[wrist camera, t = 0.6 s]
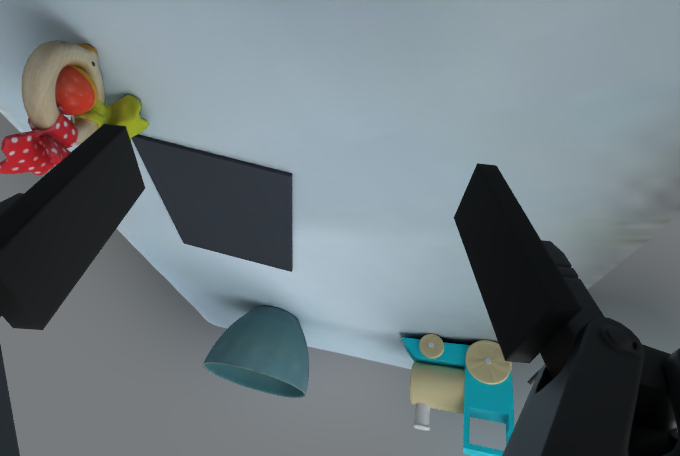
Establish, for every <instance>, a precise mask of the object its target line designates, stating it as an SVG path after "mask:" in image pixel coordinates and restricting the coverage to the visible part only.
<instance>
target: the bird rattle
mask: <svg viewBox="0 0 680 456" xmlns="http://www.w3.org/2000/svg"><path fill="white" fill-rule="evenodd" d="M22 97H23V103H24V107H25V110H26V112H27V115H28V117H29V118H28V123H29V125H30V127H31V129H32V130H33V131H30V132H24V133H19V134H14V135H9V136H6V137H5V138H4V139H3V142H2V144H1V150H2V151H3V153H4V154H5V155H6V156H7V159H5V160H4V161H2V162H0V173H2V174H16V173H23V172H32V173H34V174H36V175H42V174H45V173H47V172H48V171H49V170H50V169H52V168H53V167H54V165H57V164H59V163H60V162H61V161H62V160H63V159H64V158H65V157H67V156H68V155H69V154H70V153H71V152H70V151H68V150H67V149H66V148H69V147H72V146H73V145H78V144H81V143H82V142H84V141H85V140H86V139H87V138H88V137H89V136H90V135H92V134H93V133H94V132H95V131H96V130H97V129H98V128H100V127H101V126H102V125H103V124H111V125H121V126H126V128H127V131H128V135H129V138H130V141H131V138H132V137H134V136H136V135H137V134H139V133H141V132H143V131H144V130H145V129H146V128H147V127H148V125H149V123H148V121H147V120H145V119H144V118H140V116H139V112H140V110H141V107H142V104H141V101H140V100H139V99H137V98H136V97H134V96H131V95H126V96H124V97H122V98H121V99H119V100H118V101H116V102H115V103H113V104H111V105H105V92H104V84H103V79H102V75H101V72H100V69H99V66H98V57H97V52H96V50H95V49H94V48H93V47H91V46H89V45H85V44H78V45H76V44H73V43H69V42H65V41H49V42H46V43H43V44H41V45H40V46H38V47H37V48H36V49H35V50H34V51H33V52H32V53H31V55H30V56H29V58H28V60H27V62H26V64H25V66H24V71H23V76H22ZM63 114H65V115H71V120H70V121H69V119H68V118H67V117H65V116H64V115H63Z"/></svg>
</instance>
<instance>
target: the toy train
mask: <svg viewBox="0 0 680 456" xmlns="http://www.w3.org/2000/svg"><path fill="white" fill-rule="evenodd" d="M401 339H402V341H403V343H404V346H405V348H406V350H407V352H408V353H409V355H410V356H411V358H412V359H413V360H414V363H413V366H412V370H411V376H410V401H411V403H412V404H413V405H416V411H415V421H414V424H413V427H414V428H416V429H420V430H424V431H428V430H430V428H429V416H430V408H435V409H440V410H445V411H450V412H456V413H461V414H464V426H463V450H464V454H467V455H472V456H502V455H503V453H504V451H501V450H496V449H492V448H487V447H482V446H478V445H473V444H469V421H470V420H469V418H470V417H473V418H479V419H484V420H489V421H494V422H500V423H505V424H506V442H507V444H508V441H509V439H510V437H511V435H512V432H513V430H514V410H513V388H512V362H508V361H505V359H504V357H503V354H502V351H501V348H500V345H499V344H498V343H496V342H493V341H490V340H481V341H477V342H475V343H473V344H472V345H471V346H470V345H462V344H454V343H445V342H443V341H442V339H441V338H440V337H439V336H437V335H435V334H427V335H425V336H423V337H422V339H421V340H420V339H412V338H404V337H401Z"/></svg>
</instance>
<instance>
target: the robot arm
mask: <svg viewBox="0 0 680 456" xmlns="http://www.w3.org/2000/svg"><path fill="white" fill-rule="evenodd" d="M144 189H145V186H144V183H143V180H142V176H141V173H140V170H139V167H138V163H137V160H136V157H135V154H134V151H133V147H132V144H131V141H130V138H129V135H128V131H127V128H126V126H121V125H111V124H103V125H102V126H101V127H100V128H98V129H97V130H96V131H95V132H94V133H93V134H92V135H90V136H89V137H88V138H87V139H86V140H85V141H84V142H82V143H81V144H80V145H79V146H78V147H77V148H76V149H75V150H73V151H72V152H71V153H70V154H69V155H68V156H67V157H65V158H64V159H63V160H62V161H61V162H60V163H59V164H57V165H56V166H55V167H54V168H53V169H52V170H51V171H50V172H48V173H47V174H46V175H45V176H44V177H43V178H42V179H40V180H39V181H38V182H37V183H36V184H35V185H34V186H33V187H31V188H30V189H29V190H28V191H27V192H26V193H25V194H22V193H18V194H16V195H14V196H12V197H10V198H8V199H6V200H4V201H2V202H0V317H1V316H3V317H4V318H5V319H6V321H7V322H8V323H9V324H10V325H11V326H12V327H13V328H21V329H22V328H23V329H36V330H43V329H44V328H45V326H46V325H47V323H48V322H49V320H50V319H51V318H52V316H53V315H54V314H55V312H56V311H57V310H58V308H59V306H60V305H61V304H62V303H63V301H64V300H65V299H66V297H67V296H68V294H69V293H70V292H71V290H72V289H73V287H74V286H75V285H76V283H77V282H78V281H79V279H80V278H81V276H82V275H83V274H84V272H85V271H86V269H87V268H88V267H89V265H90V264H91V263H92V261H93V260H94V258H95V257H96V256H97V254H98V253H99V251H100V250H101V249H102V247H103V246H104V245H105V243H106V242H107V240H108V239H109V238H110V236H111V235H112V233H113V232H114V231H115V229H116V228H117V227H118V225H119V224H120V222H121V221H122V220H123V218H124V217H125V215H126V214H127V213H128V211H129V210H130V209H131V207H132V206H133V204H134V203H135V202H136V200H137V199H138V197H139V196H140V195H141V193H142V192H143V191H144ZM454 219H455V222H456V225H457V228H458V230H459V233H460V236H461V239H462V242H463V244H464V247H465V250H466V253H467V256H468V258H469V261H470V264H471V267H472V270H473V272H474V275H475V278H476V281H477V284H478V286H479V289H480V292H481V295H482V298H483V301H484V303H485V306H486V309H487V312H488V315H489V317H490V320H491V323H492V326H493V329H494V331H495V334H496V337H497V340H498V343H499V345H500V348H501V351H502V354H503V357H504V359H505V361H508V362H523V363H530V362H531V361H532V360H533V359H534V358H535V357H536V356H537V355H538V354H539V353H541V356H542V358H543V360H544V363H545V365H544V366H543V367H542V368H541V369H540V370H539V371H538V372H537V373H536V374H534V376H533V377H531V378H530V380H529V381H528V383H529V384H532V383H533V382H534V381H535V382H534V384H533V386H532V389H531V391H530V393H529V396H528V398H527V400H526V402H525V405H524V407H523V409H522V412H521V414H520V416H519V419H518V421H517V423H516V426H515V428H514V430H513V432H512V435H511V437H510V439H509V441H508V444H507V446H506V448H505V451H504V453H503V455H502V456H680V349H678V350H676V351H675V352H674V353H672V354H668V353H665V352H663V351H659V350H656V349H654V348H651V347H648V346H645V345H642V344H641V343H640V340H639V339H638V338H637V337H636V336H635V335H634V334H633V332H632V331H631V330H629V329H628V328H627V327H625V326H624V325H622V324H621V323H619V322H617V321H615V320H612V319H610V318H605V317H604V316H603V314H602V312H601V311H600V309H599V308H598V306H597V305H596V303H595V301H594V300H593V298H592V297H591V295H590V294H589V292H588V291H587V289H586V287H585V286H584V284H583V283H582V281H581V280H580V279H578V275H577V273H576V272H575V270H574V269H573V268H571V264H570V262H569V261H568V259H567V258H566V256H565V255H564V253H563V252H562V251H561V250H560V249H558V248H557V247H556V246H555V245H554V244H553V243H552V242H551V241H541V239H540V238H539V236H538V234H537V233H536V231H535V229H534V228H533V226H532V224H531V223H530V221H529V219H528V218H527V216H526V214H525V213H524V211H523V209H522V208H521V206H520V204H519V203H518V201H517V199H516V198H515V196H514V194H513V193H512V191H511V189H510V188H509V186H508V184H507V183H506V181H505V179H504V178H503V176H502V174H501V172H500V171H499V169H498V167H497V166H495V165H486V164H477V165H476V168H475V170H474V172H473V175H472V177H471V179H470V182H469V184H468V186H467V189H466V191H465V193H464V196H463V198H462V200H461V203H460V205H459V207H458V209H457V212H456V214H455V216H454ZM677 430H678V432H677ZM0 456H20V455H19V448H18V443H17V437H16V431H15V426H14V420H13V414H12V409H11V403H10V398H9V391H8V386H7V380H6V374H5V369H4V363H3V357H2V351H1V346H0Z"/></svg>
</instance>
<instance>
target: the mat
mask: <svg viewBox="0 0 680 456" xmlns="http://www.w3.org/2000/svg"><path fill="white" fill-rule="evenodd" d="M132 140H133V142H134V144H135V146H136V148H137V150H138V152H139V154H140V156H141V158H142V160H143V162H144V164H145V166H146V168H147V170H148V172H149V174H150V176H151V178H152V180H153V182H154V184H155V186H156V188H157V190H158V192H159V194H160V196H161V198H162V200H163V203H164V205H165V207H166V209H167V211H168V213H169V215H170V217H171V219H172V221H173V223H174V225H175V227H176V229H177V231H178V233H179V235H180V237H181V239H182V241H183V243H184V244H188V245H192V246H196V247H200V248H203V249H207V250H211V251H215V252H219V253H222V254H226V255H230V256H234V257H237V258H241V259H245V260H249V261H253V262H256V263H260V264H264V265H268V266H272V267H275V268H279V269H283V270H287V271H291V272H292V174H290V173H286V172H282V171H278V170H274V169H270V168H266V167H263V166H259V165H255V164H251V163H247V162H243V161H239V160H235V159H231V158H227V157H223V156H219V155H215V154H211V153H207V152H203V151H199V150H195V149H191V148H187V147H184V146H180V145H176V144H172V143H168V142H164V141H160V140H156V139H152V138H148V137H144V136H140V135H136V136H134V137H132Z"/></svg>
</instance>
